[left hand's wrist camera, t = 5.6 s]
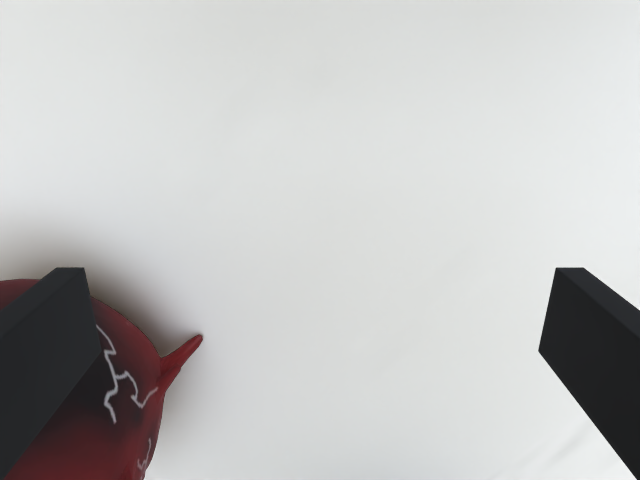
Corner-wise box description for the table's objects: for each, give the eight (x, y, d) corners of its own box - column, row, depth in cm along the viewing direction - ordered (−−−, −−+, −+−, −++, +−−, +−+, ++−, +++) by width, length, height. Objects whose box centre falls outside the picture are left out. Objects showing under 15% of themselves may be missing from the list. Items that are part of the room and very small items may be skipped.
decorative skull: (29, 631, 40) (171, 592, 28) (-309, 567, 31) (-321, 465, 18) (121, 412, 57) (237, 326, 44) (-81, 325, 47) (-6, 184, 35)
